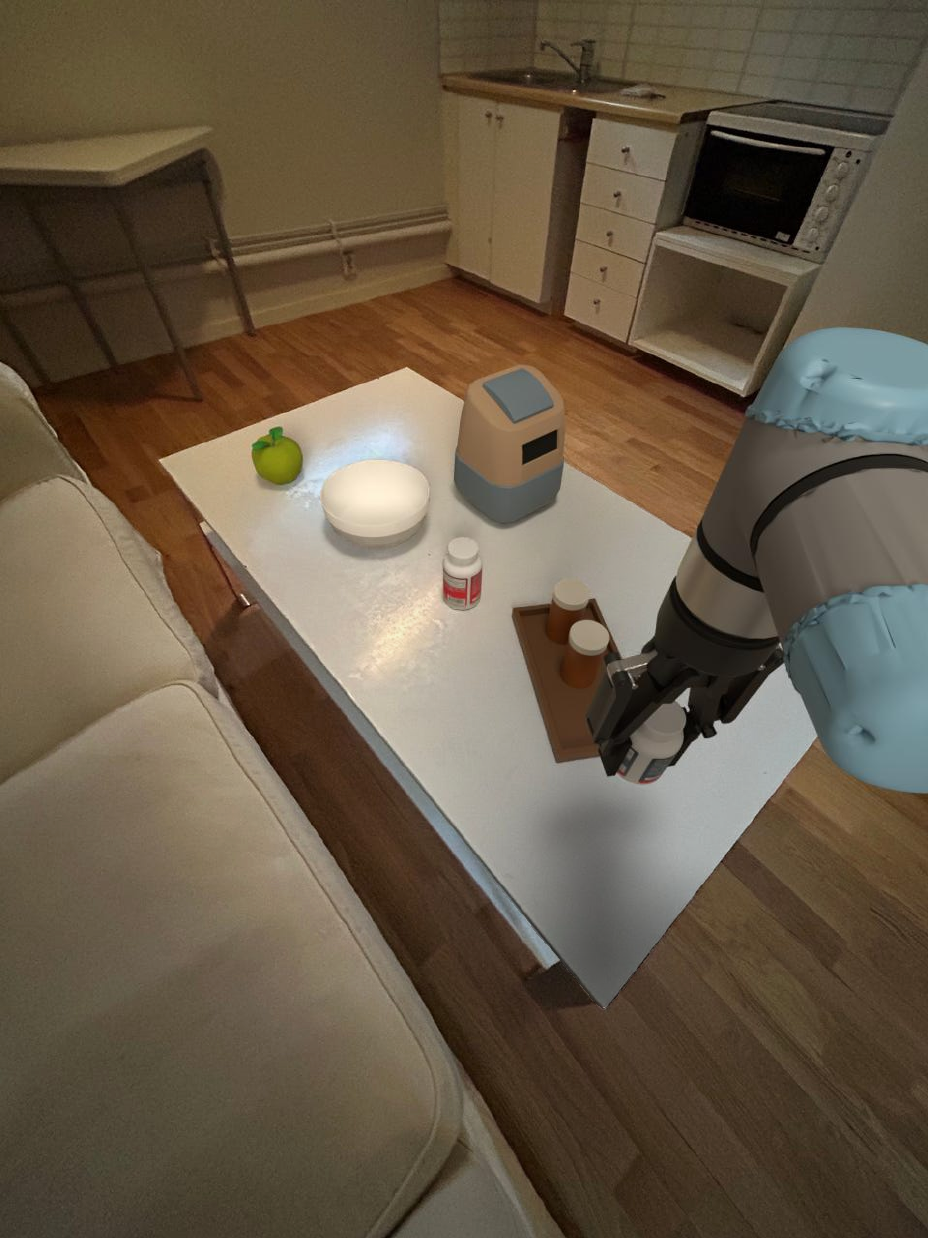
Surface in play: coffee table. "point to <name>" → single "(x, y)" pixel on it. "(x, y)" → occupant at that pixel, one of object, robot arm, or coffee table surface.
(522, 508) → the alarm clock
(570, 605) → the amber bottle far
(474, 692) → the coffee table surface
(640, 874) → the coffee table surface
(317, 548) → the coffee table surface
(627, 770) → the pill bottle
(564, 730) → the tray
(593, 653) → the amber bottle middle
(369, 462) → the bowl
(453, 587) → the pill bottle
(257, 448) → the fruit
